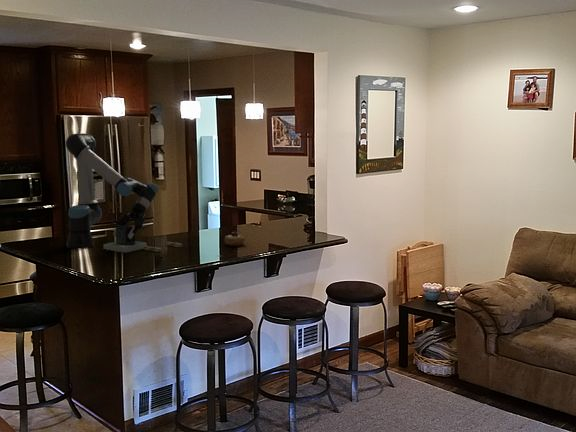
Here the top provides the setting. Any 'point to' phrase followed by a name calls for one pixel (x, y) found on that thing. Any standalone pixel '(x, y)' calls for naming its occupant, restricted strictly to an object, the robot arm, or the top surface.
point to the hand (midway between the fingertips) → (121, 236)
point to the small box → (124, 235)
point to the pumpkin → (234, 239)
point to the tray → (124, 247)
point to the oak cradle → (161, 248)
